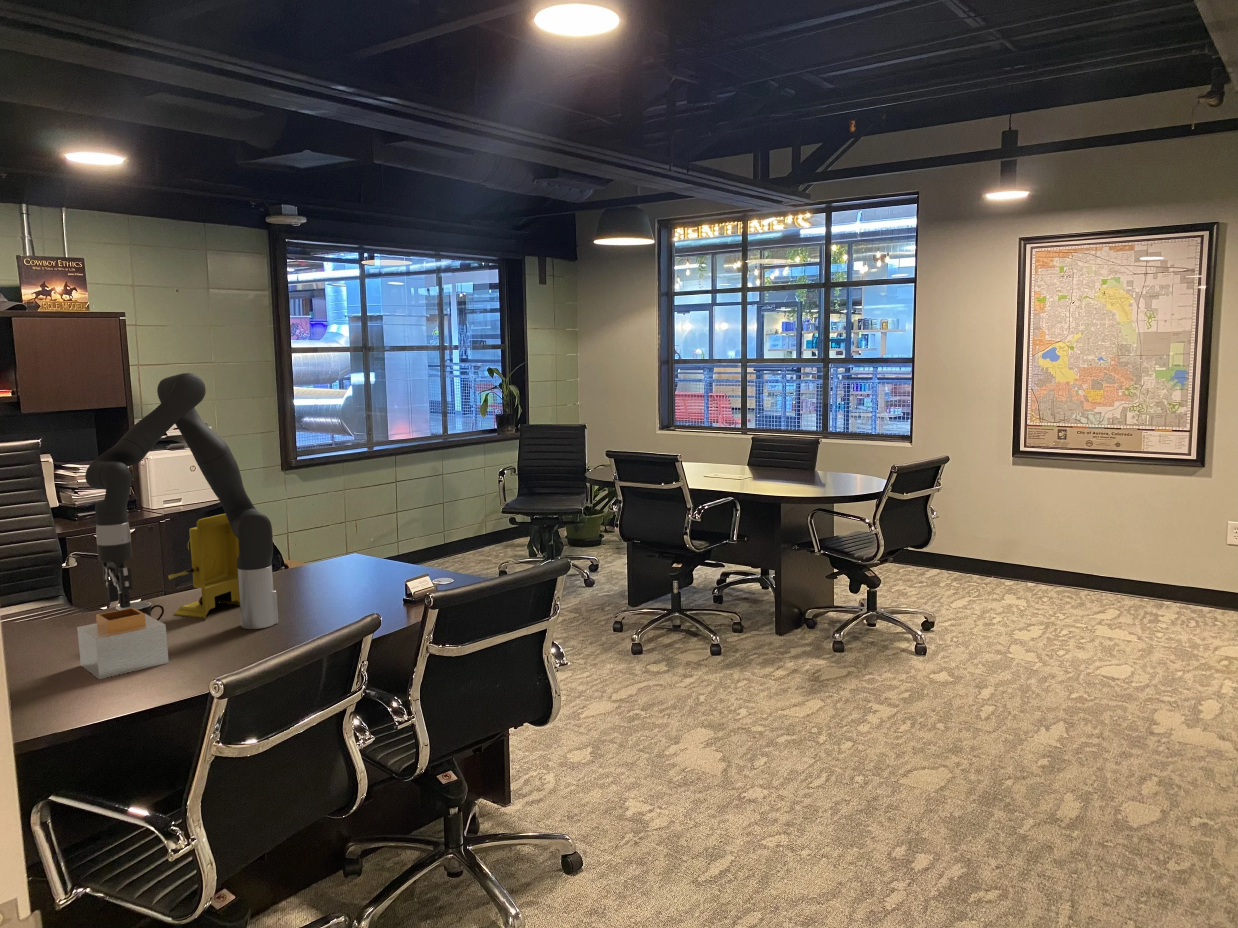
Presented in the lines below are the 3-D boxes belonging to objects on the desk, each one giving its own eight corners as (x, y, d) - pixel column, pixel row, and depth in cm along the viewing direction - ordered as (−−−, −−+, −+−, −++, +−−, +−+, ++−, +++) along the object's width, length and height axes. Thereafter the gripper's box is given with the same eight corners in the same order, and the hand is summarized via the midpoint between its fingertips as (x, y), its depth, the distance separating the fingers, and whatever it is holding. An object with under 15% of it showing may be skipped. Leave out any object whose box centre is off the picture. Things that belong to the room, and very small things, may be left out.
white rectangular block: (147, 650, 245) (143, 602, 244) (168, 662, 235) (164, 613, 233) (80, 665, 234) (76, 615, 233) (99, 679, 224) (94, 627, 222)
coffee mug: (118, 648, 247) (115, 611, 246) (119, 639, 255) (115, 604, 254) (166, 641, 253) (163, 605, 251) (165, 633, 260) (163, 598, 259)
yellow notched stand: (233, 594, 301) (227, 503, 297) (267, 597, 296) (261, 505, 292) (154, 621, 272) (146, 521, 268) (191, 625, 267) (183, 523, 263)
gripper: (140, 542, 228) (145, 606, 230) (120, 534, 238) (126, 596, 240) (106, 547, 223) (112, 612, 225) (88, 539, 233) (94, 602, 235)
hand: (119, 604), depth 233 cm, fingers open, 8 cm apart
